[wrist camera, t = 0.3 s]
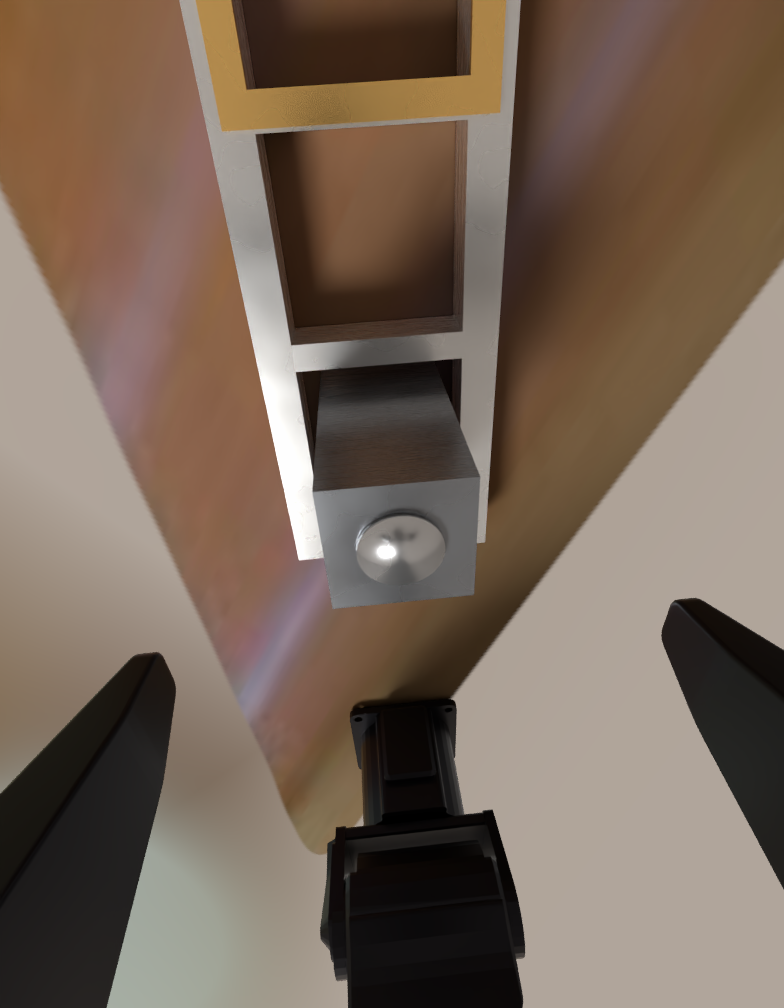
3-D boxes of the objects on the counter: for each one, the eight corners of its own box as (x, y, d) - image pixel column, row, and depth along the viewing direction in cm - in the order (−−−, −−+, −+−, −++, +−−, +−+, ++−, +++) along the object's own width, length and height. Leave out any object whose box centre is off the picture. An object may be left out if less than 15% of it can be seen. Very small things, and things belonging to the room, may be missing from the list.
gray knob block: (434, 456, 22) (475, 599, 15) (334, 465, 22) (332, 613, 15) (433, 359, 20) (481, 481, 13) (320, 369, 19) (312, 496, 13)
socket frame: (476, 517, 24) (485, 545, 22) (301, 533, 24) (298, 563, 22) (527, -487, 10) (563, -605, 8) (97, -476, 10) (49, -596, 8)
